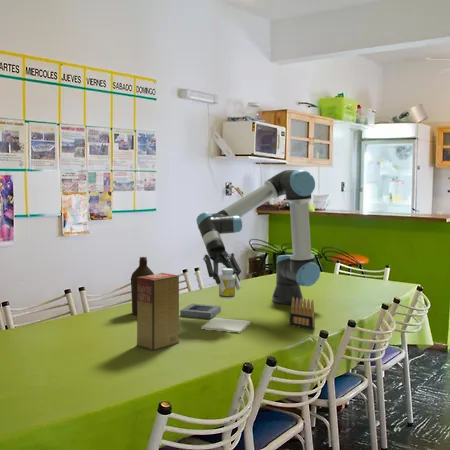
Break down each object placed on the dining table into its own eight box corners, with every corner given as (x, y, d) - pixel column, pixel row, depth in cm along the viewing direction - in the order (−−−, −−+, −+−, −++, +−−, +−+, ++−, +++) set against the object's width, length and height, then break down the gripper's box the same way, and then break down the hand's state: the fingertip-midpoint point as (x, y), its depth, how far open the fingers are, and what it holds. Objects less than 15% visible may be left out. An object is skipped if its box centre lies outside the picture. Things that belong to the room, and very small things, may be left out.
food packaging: (162, 337, 212) (162, 272, 209) (180, 342, 206) (181, 275, 204) (135, 345, 201) (135, 276, 199) (153, 351, 195) (154, 280, 193)
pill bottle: (218, 295, 231) (218, 267, 230) (234, 295, 232) (234, 267, 231) (219, 299, 225) (220, 270, 224) (235, 299, 225) (236, 270, 224)
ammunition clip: (314, 328, 228) (315, 299, 227) (312, 329, 227) (313, 300, 226) (291, 324, 235) (292, 295, 234) (289, 325, 233) (290, 296, 232)
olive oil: (126, 312, 250) (127, 256, 248) (148, 309, 256) (148, 255, 253) (136, 317, 241) (137, 259, 239) (159, 314, 247) (159, 258, 245)
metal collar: (220, 311, 254) (220, 306, 254) (210, 318, 241) (210, 313, 240) (191, 308, 258) (191, 303, 258) (180, 315, 245) (180, 310, 245)
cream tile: (250, 323, 234) (250, 321, 234) (240, 333, 219) (240, 331, 219) (214, 319, 239) (214, 317, 239) (201, 329, 224) (201, 327, 224)
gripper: (231, 248, 245) (248, 292, 232) (190, 250, 236) (206, 296, 223) (237, 237, 239) (255, 282, 226) (195, 239, 231) (212, 285, 218)
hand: (231, 289), depth 225 cm, fingers closed on pill bottle, 6 cm apart
